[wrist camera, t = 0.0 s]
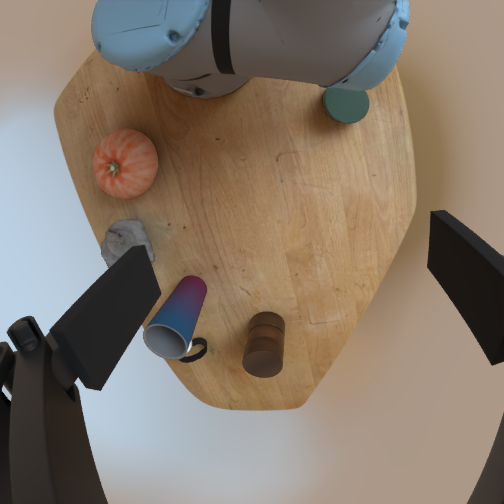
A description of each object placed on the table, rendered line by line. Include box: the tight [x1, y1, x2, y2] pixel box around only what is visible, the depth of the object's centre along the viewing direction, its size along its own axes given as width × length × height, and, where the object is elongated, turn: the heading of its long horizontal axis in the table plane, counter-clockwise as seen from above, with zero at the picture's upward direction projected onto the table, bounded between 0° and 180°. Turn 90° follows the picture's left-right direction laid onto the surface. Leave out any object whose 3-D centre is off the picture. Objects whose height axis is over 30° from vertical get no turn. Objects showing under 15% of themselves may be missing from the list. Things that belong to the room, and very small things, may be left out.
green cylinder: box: [322, 88, 369, 123], centre depth 36 cm, size 6×6×4 cm
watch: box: [179, 338, 207, 363], centre depth 59 cm, size 8×5×4 cm, turn 133°
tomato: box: [93, 129, 158, 199], centre depth 41 cm, size 11×11×8 cm
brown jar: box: [242, 312, 285, 378], centre depth 50 cm, size 7×7×10 cm
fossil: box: [101, 219, 155, 268], centre depth 47 cm, size 11×9×8 cm
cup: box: [143, 276, 207, 360], centre depth 47 cm, size 7×7×15 cm
